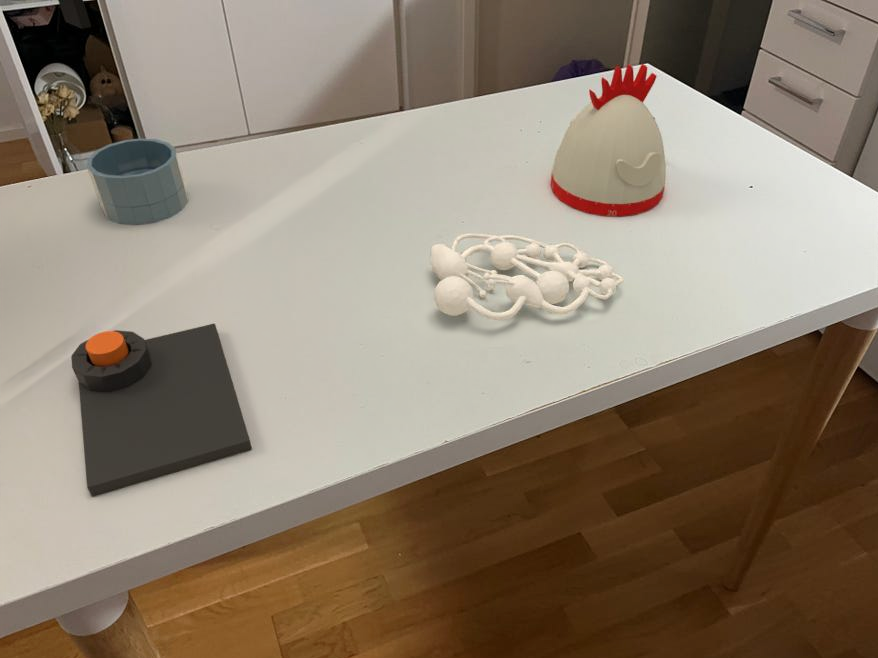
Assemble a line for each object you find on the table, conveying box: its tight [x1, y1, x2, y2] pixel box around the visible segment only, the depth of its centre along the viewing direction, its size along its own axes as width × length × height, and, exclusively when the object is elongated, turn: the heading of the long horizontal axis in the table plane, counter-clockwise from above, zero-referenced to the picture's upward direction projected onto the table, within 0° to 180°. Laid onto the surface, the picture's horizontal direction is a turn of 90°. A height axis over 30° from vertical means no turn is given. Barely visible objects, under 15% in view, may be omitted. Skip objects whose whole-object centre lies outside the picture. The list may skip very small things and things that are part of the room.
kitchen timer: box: [550, 63, 667, 218], centre depth 89 cm, size 14×14×15 cm
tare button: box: [86, 330, 128, 367], centre depth 64 cm, size 3×3×2 cm
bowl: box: [86, 138, 189, 226], centre depth 84 cm, size 9×9×8 cm
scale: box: [70, 323, 253, 497], centre depth 63 cm, size 16×12×3 cm
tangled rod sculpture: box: [429, 233, 625, 321], centre depth 77 cm, size 19×14×4 cm
